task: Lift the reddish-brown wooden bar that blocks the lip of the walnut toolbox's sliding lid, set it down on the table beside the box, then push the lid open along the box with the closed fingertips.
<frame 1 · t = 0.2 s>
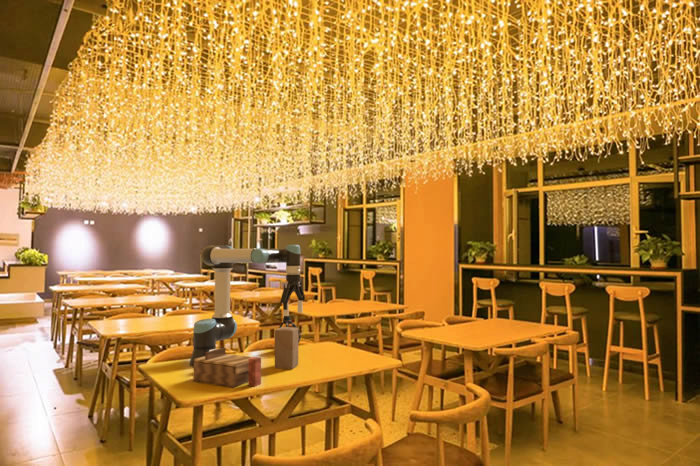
hand: (293, 314, 240), 28 cm above the table, fingers open, 13 cm apart
white cup: (216, 370, 234), on the table
lid: (225, 359, 215), point 10 cm above the table, slide at 0.0 cm
teapot: (284, 350, 280), on the table
wooden block: (286, 367, 240), on the table
reddish-brown wooden bar: (254, 384, 207), on the table
toolbox: (224, 380, 215), on the table
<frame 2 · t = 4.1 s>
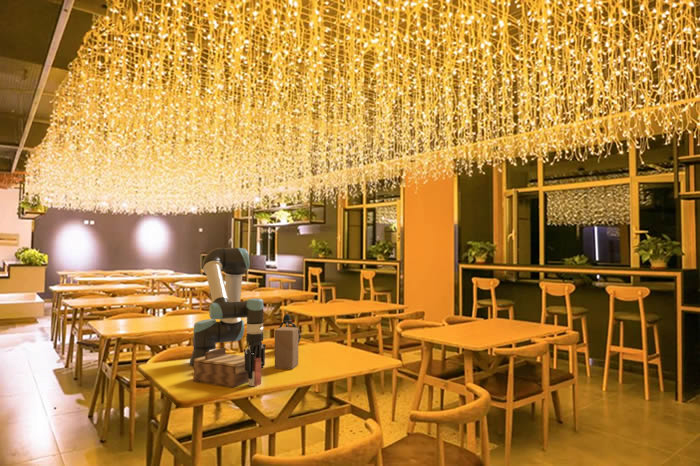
hand: (254, 384, 207), 0 cm above the table, fingers closed on reddish-brown wooden bar, 4 cm apart
reddish-brown wooden bar: (254, 384, 207), on the table, touching gripper
everything else where it was.
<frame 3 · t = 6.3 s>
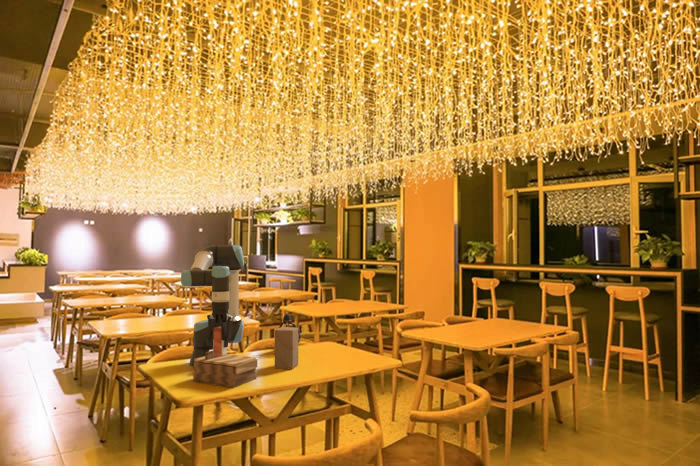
hand: (220, 354, 201), 16 cm above the table, fingers closed on reddish-brown wooden bar, 4 cm apart
reddish-brown wooden bar: (220, 354, 201), point 15 cm above the table, touching gripper
everything else where it was.
when the fingers open (1 cm above the table, at t = 8.7 s): reddish-brown wooden bar drops 1 cm, on the table.
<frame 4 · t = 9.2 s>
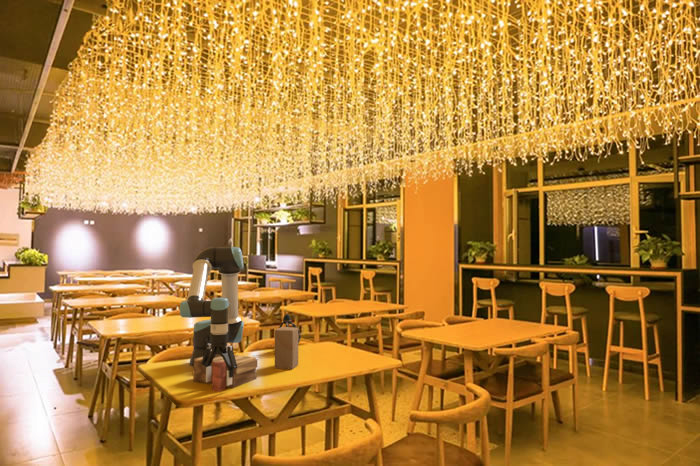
hand: (218, 383, 200), 3 cm above the table, fingers open, 11 cm apart
reddish-brown wooden bar: (218, 389, 200), on the table
everything else where it was.
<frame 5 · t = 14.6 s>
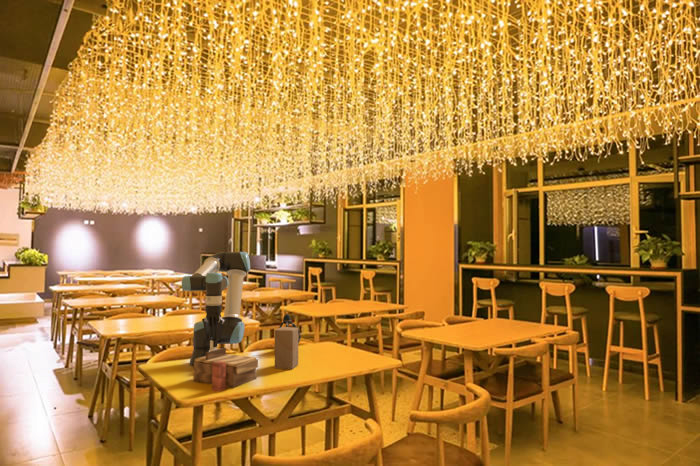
hand: (213, 353, 219), 12 cm above the table, fingers closed
lid: (226, 359, 215), point 10 cm above the table, slide at 0.3 cm, touching gripper
everything else where it was.
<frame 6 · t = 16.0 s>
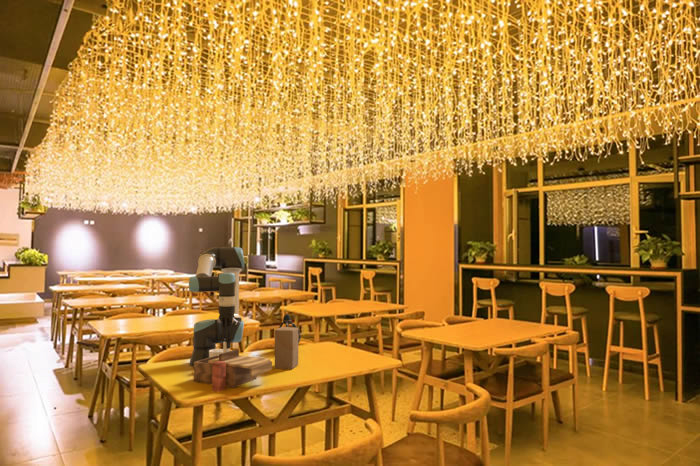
hand: (226, 355, 215), 12 cm above the table, fingers closed
lid: (240, 361, 212), point 10 cm above the table, slide at 8.4 cm, touching gripper
everything else where it was.
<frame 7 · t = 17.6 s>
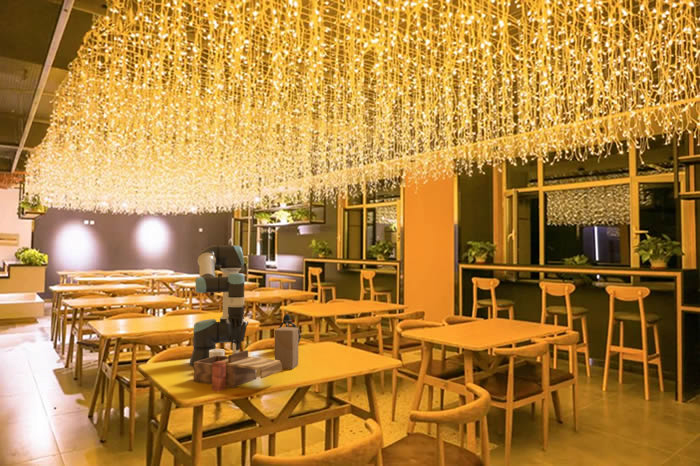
hand: (235, 356, 213), 12 cm above the table, fingers closed
lid: (249, 362, 209), point 10 cm above the table, slide at 14.0 cm, touching gripper
everything else where it was.
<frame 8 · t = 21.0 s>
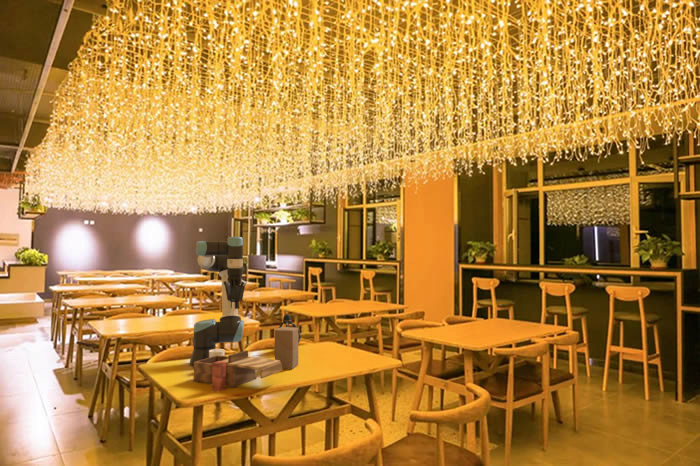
hand: (234, 315, 225), 29 cm above the table, fingers closed
lid: (249, 362, 209), point 10 cm above the table, slide at 14.0 cm
everything else where it was.
at the end: lid slide at 14.0 cm; reddish-brown wooden bar inside the target area (0.0 cm from its centre), on the table; the gripper is holding nothing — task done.
